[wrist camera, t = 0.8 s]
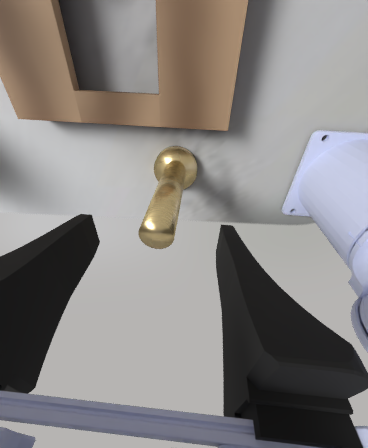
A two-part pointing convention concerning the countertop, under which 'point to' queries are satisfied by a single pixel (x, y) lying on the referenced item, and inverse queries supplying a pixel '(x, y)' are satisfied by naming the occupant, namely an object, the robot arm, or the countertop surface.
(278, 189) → the countertop surface
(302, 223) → the countertop surface
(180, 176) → the peg
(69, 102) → the keyhole plate
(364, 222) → the robot arm
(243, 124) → the countertop surface
